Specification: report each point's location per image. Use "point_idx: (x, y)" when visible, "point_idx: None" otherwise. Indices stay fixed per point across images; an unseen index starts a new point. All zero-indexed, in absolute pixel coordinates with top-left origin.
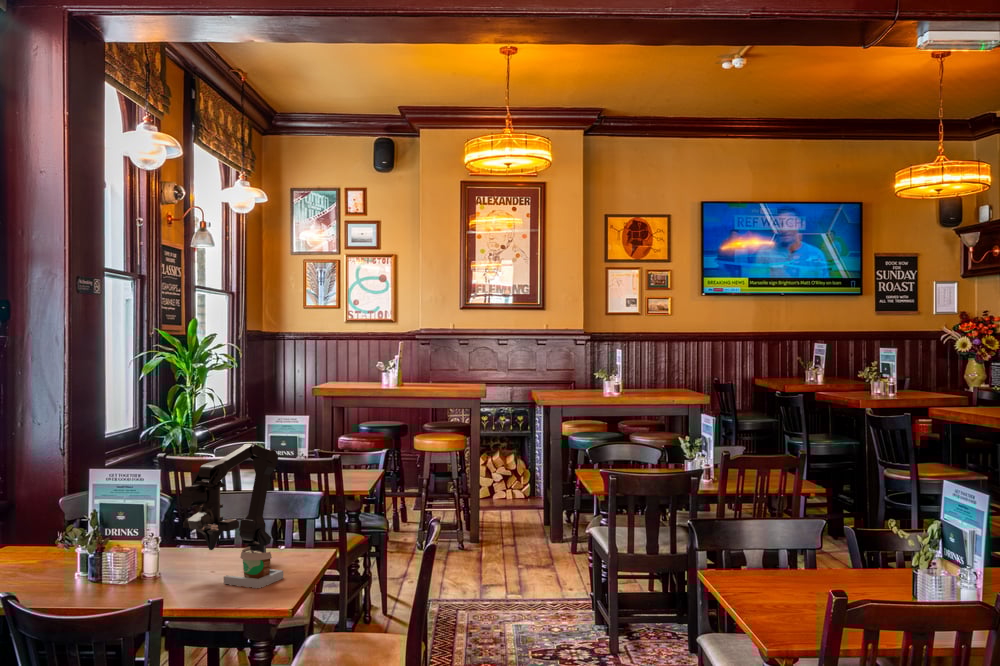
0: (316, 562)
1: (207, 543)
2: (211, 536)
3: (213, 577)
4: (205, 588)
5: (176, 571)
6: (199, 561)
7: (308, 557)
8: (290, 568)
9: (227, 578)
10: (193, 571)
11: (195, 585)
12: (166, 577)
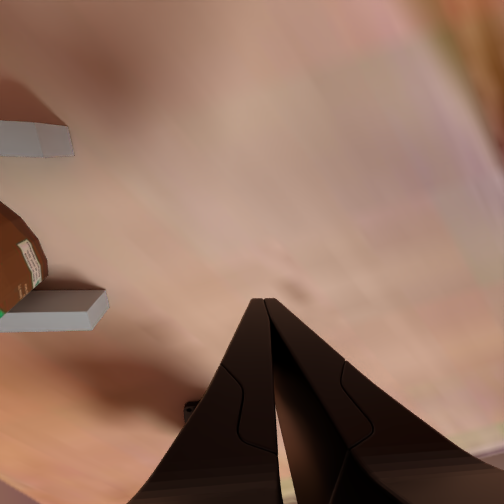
0: (14, 469)
1: (306, 333)
2: (214, 440)
3: (229, 222)
4: (97, 5)
5: (455, 246)
6: (423, 366)
7: (94, 488)
8: (26, 406)
9: (5, 121)
10: (380, 268)
11: (213, 54)
12: (463, 150)
